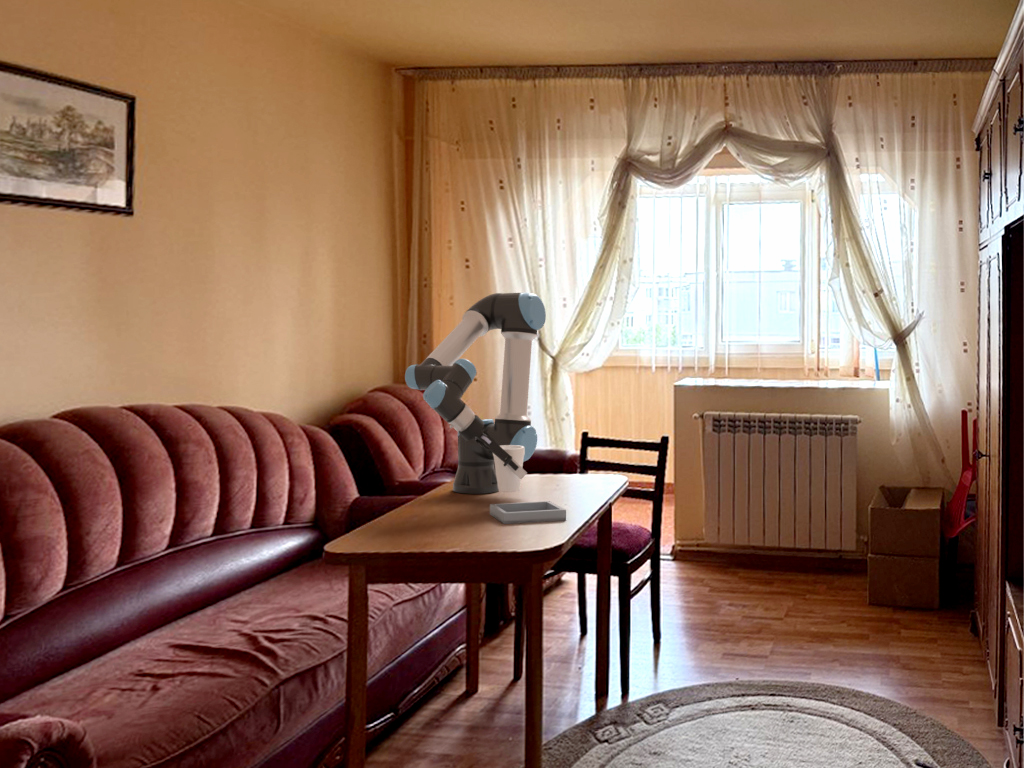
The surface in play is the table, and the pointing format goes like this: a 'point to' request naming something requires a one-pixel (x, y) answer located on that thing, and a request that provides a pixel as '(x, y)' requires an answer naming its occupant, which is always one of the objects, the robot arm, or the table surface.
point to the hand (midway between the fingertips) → (518, 473)
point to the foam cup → (504, 474)
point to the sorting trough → (527, 512)
